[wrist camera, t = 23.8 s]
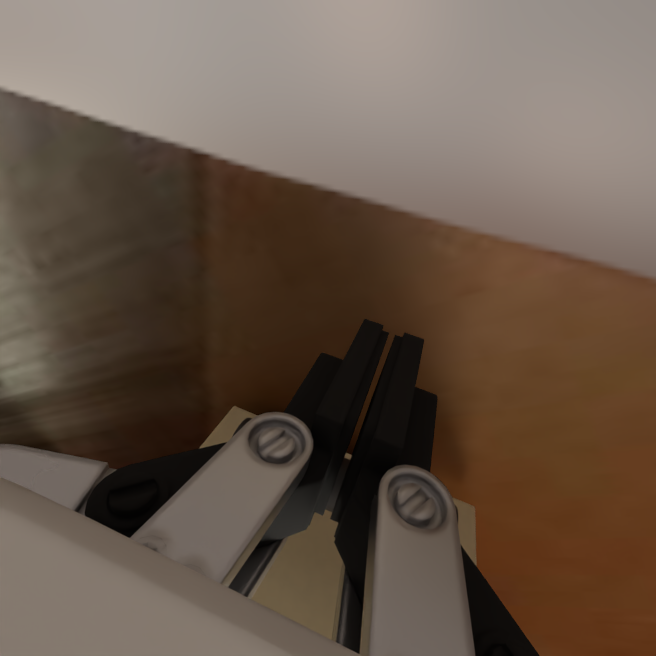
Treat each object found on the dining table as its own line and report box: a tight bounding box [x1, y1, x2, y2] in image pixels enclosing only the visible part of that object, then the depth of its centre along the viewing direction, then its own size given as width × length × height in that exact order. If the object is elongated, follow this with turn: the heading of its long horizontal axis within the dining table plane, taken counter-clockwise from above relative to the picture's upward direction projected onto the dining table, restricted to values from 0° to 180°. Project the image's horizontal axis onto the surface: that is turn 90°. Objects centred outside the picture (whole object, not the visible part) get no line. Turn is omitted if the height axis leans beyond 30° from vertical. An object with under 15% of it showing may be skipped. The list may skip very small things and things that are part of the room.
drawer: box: [200, 406, 476, 640], centre depth 17 cm, size 20×12×9 cm, turn 167°
